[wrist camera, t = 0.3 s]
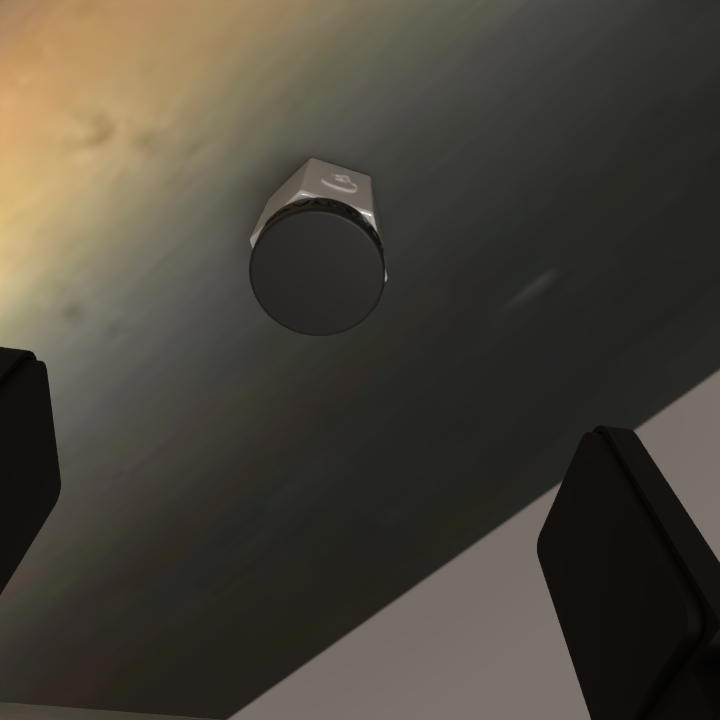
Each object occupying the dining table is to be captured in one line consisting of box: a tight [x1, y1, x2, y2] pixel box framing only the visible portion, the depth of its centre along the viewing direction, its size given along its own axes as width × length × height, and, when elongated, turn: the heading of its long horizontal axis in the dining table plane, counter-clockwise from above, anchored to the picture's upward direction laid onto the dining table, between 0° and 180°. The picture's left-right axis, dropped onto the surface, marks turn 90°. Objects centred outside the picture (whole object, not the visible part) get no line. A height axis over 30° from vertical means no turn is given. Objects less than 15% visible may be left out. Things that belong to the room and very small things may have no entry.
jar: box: [249, 158, 387, 336], centre depth 41 cm, size 9×8×12 cm
